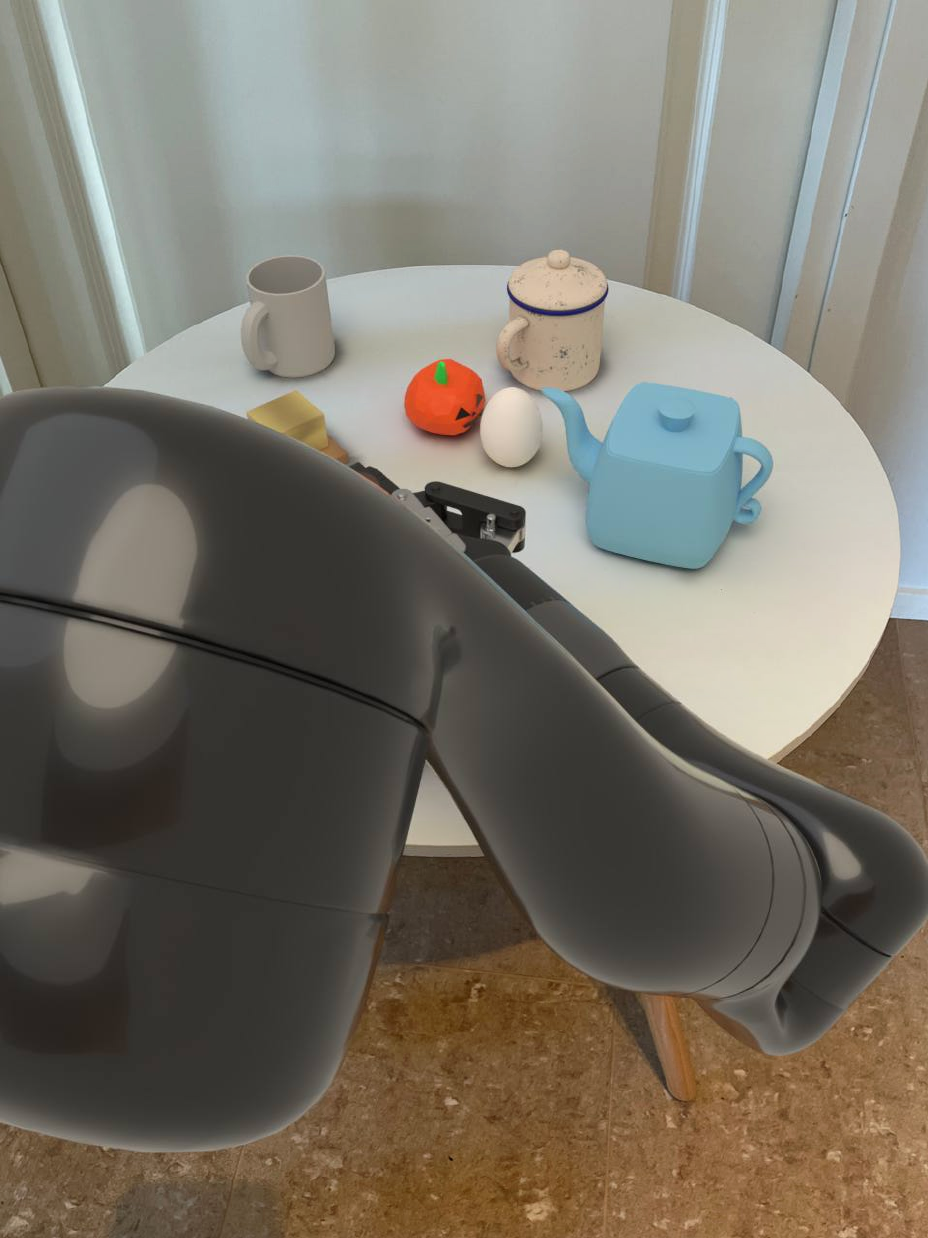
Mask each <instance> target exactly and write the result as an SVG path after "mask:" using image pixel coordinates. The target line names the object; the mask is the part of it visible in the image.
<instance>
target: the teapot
mask: <svg viewBox="0 0 928 1238" xmlns="http://www.w3.org/2000/svg"><path fill="white" fill-rule="evenodd" d="M541 393H542V394H543V395H544V396H545V397H546V398H547V399H549V401H550V402H551V403H553V404H554V405H555V406H556V408H557V409H558V411H559V412H560V414H561V417H562V419H563V422H564V428H565V436H566V446H567V454H568V457H569V461H570V464H571V465H572V467H573V470H574V471H575V472H576V473H577V475H578V476H579V477H580V478H581V479H582V480H583V481H585V482H586V483H587V484H588V485H589V489H588V495H587V501H586V508H585V509H586V510H585V526H586V530H587V533H588V534H587V535H588V537H589V538H590V540H591V542H592V544H593V545H594V546H596V547H598V548H600V549H603V550H604V551H608V552H612V553H616V554H619V555H622V556H627V557H631V558H635V559H640V560H644V561H648V562H653V563H656V564H662V565H667V566H672V567H678V568H685V569H695V570H697V569H701V568H702V567H705V566H706V564H708V563H709V561H710V560H711V559H712V558H713V557H714V556H715V554H716V553H717V551H718V550H719V548H720V547H721V545H722V543H723V542H724V541H725V538H726V536H727V535H728V533H729V532H730V531H729V530H730V529H731V527H732V524H733V522H734V523H737V524H741V525H749V524H752V523H754V522H755V521H756V520H757V519H759V517H760V515H761V512H762V505H761V503H760V500H758V499H757V498H754V496H755V495H756V494H757V493H758V492H759V491H760V490H761V489H762V488H763V487H764V486H765V484H766V483H767V482H768V480H769V479H770V477H771V475H772V472H773V470H774V458H773V456H772V453H771V452H770V450H769V449H768V448H767V447H766V446H765V445H764V444H763V443H762V442H760V441H758V440H756V439H754V438H752V437H747V436H743V427H742V415H741V408H740V405H739V403H738V401H737V400H735V398H732V397H728V396H725V395H722V394H721V395H720V394H716V393H712V392H707V391H704V390H703V391H702V390H697V389H693V388H687V387H681V386H674V385H669V384H662V383H655V382H648V381H647V382H646V381H641V382H639V383H637V384H635V385H634V386H633V387H632V388H631V389H630V390H629V391H628V392H627V394H626V395H625V397H623V400H622V402H620V405H619V406H618V408H617V411H616V412H615V414H614V416H613V418H612V420H611V422H610V424H609V427H608V428H607V431H606V432H605V433H606V434H605V436H604V438H603V441H600V440H599V439H598V438H596V437H595V436H594V435H593V434H592V432H590V430H589V428H588V426H587V422H586V419H585V415H584V412H583V408H582V407H581V405H580V403H579V402H578V401H577V400H576V398H575V397H574V396H572V395H571V394H569V393H567V391H561V390H559V389H555V388H550V387H544V388H542V390H541ZM744 455H747V456H749V457H751V458H753V459H755V460H756V461H757V462H758V463H759V464H760V468H759V470H758V471H757V473H756V474H755V475H754V477H753V478H751V480H750V481H748V483H746V484H745V485H744V486H743V487H742V482H743V466H744ZM743 507H744V508H743ZM746 508H747V509H746Z"/></svg>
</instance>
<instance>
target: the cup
mask: <svg viewBox="0 0 928 1238" xmlns="http://www.w3.org/2000/svg"><path fill="white" fill-rule="evenodd" d="M326 276H327V275H326V270H325V267H324V265H323V264H322V263H321V262H319V261H318V260H316V259H314V258H312V257H308V256H304V255H295V254H290V255H289V254H288V255H279V256H273V257H270V258H266V259H264V260H262V261H259V262H257V263H255V264H254V265H253V266H251V268H249V270H248V271H247V272H246V275H245V282H246V288H247V293H248V299H249V303H250V306H249V307H248V308H247V309H246V310H245V313H244V315H243V316H242V317H243V318H242V320H241V327H240V341H241V345H242V351H243V354H244V355H245V358H246V359H247V361H248V362H249V363H250V364H251V366H252V367H253V369H256V370H259V371H269V373H272V374H273V375H276V376H278V377H282V378H289V379H295V378H297V379H299V378H305V377H311V376H313V375H315V374H319V373H321V372H322V371H324V370H325V369H327V368H328V367H329V366H330V365H331V363H332V362H333V360H334V358H335V356H336V355H335V354H336V353H335V352H336V349H335V347H336V345H335V337H334V331H333V322H332V314H331V308H330V299H329V291H328V284H327V278H326Z"/></svg>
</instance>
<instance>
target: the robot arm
mask: <svg viewBox="0 0 928 1238" xmlns="http://www.w3.org/2000/svg"><path fill="white" fill-rule="evenodd" d="M357 472H364V473H368V474H370V475H372V476H374V477H375V478H376V479H377V480H378V482H379V486H380V487H379V486H378V485H377V484H375V483H374V482H372V481H370V480H369V479H367V478H365V477H364V476H362V475H361V474H359V473H357ZM448 507H449V508H452V509H455V510H458V511H459V512H460V513H461V514H460V513H457V512H454V511H450V510H448ZM526 519H527V512H526V509H525V508H524V507H523V506H521V505H518V504H514V503H511V502H508V501H505V500H501V499H499V498H495V497H491V496H489V495H485V494H482V493H478V492H475V491H472V490H469V489H465V488H461V487H459V486H455V485H451V484H448V483H447V482H443V481H437V480H435V481H430V482H427V483H426V485H424V490H420V491H416V492H412V491H411V490H410V489H408V488H401V487H400V486H398V485H397V484H395V482H394V481H392V480H391V479H390V478H389V477H387V475H385V474H383V472H382V471H381V470H379V469H378V468H376V467H373V466H370V465H368V466H367V467H366V466H365V465H364V464H362V463H361V462H359V461H357V462H354V463H352V464H350V465H347V464H343V463H341V462H339V461H337V460H335V459H334V458H332V457H330V456H328V455H326V454H324V453H322V452H320V451H318V450H316V449H314V448H313V447H311V446H309V445H307V444H305V443H303V442H301V441H299V440H297V439H294V438H292V437H290V436H287V435H285V434H283V433H280V432H278V431H276V430H273V429H271V428H269V427H267V426H264V425H262V424H259V423H257V422H254V421H251V420H248V419H247V417H246V418H245V417H243V416H241V415H238V414H235V413H232V412H229V411H227V410H223V409H221V408H218V407H215V406H213V405H209V404H204V403H200V402H196V401H192V400H187V399H183V398H179V397H174V396H169V395H165V394H161V393H157V392H152V391H149V390H148V391H147V390H143V389H134V388H122V387H112V386H100V385H99V386H98V385H86V384H67V385H54V386H53V385H52V386H43V387H42V386H41V387H33V388H28V389H20V390H16V391H12V392H9V393H6V394H4V395H1V396H0V1124H4V1125H8V1126H12V1127H15V1128H18V1129H22V1130H25V1131H29V1132H32V1133H36V1134H39V1135H43V1136H47V1137H51V1138H55V1139H60V1140H65V1141H70V1142H75V1143H78V1144H79V1143H80V1144H83V1145H84V1144H85V1145H89V1146H96V1147H103V1148H109V1149H117V1150H124V1151H131V1152H139V1153H151V1154H152V1153H163V1154H164V1153H198V1152H203V1153H204V1152H213V1151H219V1150H226V1149H231V1148H236V1147H241V1146H246V1145H249V1144H251V1143H253V1142H256V1141H260V1140H261V1139H264V1138H267V1137H270V1136H273V1135H276V1134H278V1133H280V1132H281V1131H282V1130H284V1129H286V1128H287V1127H289V1126H290V1125H292V1124H294V1123H295V1122H296V1121H298V1120H299V1119H300V1118H302V1117H303V1116H304V1115H306V1114H307V1113H309V1112H310V1111H311V1110H312V1109H314V1108H315V1107H316V1106H317V1105H318V1104H319V1103H320V1102H321V1101H322V1100H323V1099H324V1098H325V1096H326V1095H327V1093H328V1092H329V1090H330V1089H331V1087H332V1086H333V1084H334V1082H335V1081H336V1080H337V1078H338V1076H339V1074H340V1073H341V1070H342V1068H343V1065H344V1063H345V1061H346V1058H347V1057H348V1054H349V1052H350V1050H351V1047H352V1044H353V1042H354V1039H355V1036H356V1033H357V1031H358V1028H359V1026H360V1022H361V1020H362V1017H363V1014H364V1011H365V1008H366V1006H367V1003H368V999H369V996H370V991H371V988H372V985H373V982H374V977H375V974H376V971H377V967H378V965H379V960H380V957H381V952H382V949H383V945H384V942H385V939H386V935H387V930H388V925H389V921H390V915H389V912H390V911H391V907H392V903H393V902H392V901H393V898H394V894H395V889H396V885H397V881H398V877H399V872H400V869H401V865H402V861H403V856H404V852H405V848H406V845H407V839H408V835H409V831H410V828H411V822H412V818H413V814H414V810H415V806H416V803H417V799H418V798H417V796H418V794H419V789H420V787H421V786H420V785H421V781H422V777H423V772H424V769H425V764H427V766H428V767H429V768H430V770H431V771H432V772H433V773H434V775H435V776H436V778H437V779H438V781H439V783H441V784H442V786H443V787H444V789H445V790H446V791H447V793H448V794H449V796H450V797H451V800H452V801H453V802H454V804H455V806H456V808H457V809H458V811H459V813H460V814H461V816H462V818H463V820H464V822H466V825H467V826H468V828H469V829H470V831H471V833H472V835H473V837H474V839H475V841H476V843H477V845H478V846H479V848H480V851H481V853H482V854H483V856H484V858H485V859H486V861H487V863H488V865H489V867H490V868H491V870H492V872H493V873H494V875H495V877H496V879H497V881H498V882H499V884H500V886H501V887H502V889H503V891H504V892H505V894H506V896H507V897H508V899H509V900H510V902H511V903H512V905H513V907H514V908H515V910H516V911H517V912H518V914H519V915H520V917H521V918H522V920H523V921H524V922H525V924H526V925H527V926H528V928H529V929H531V930H532V932H533V933H534V934H535V935H536V936H537V937H538V938H539V940H541V941H542V943H543V944H544V945H545V946H546V947H547V948H548V949H549V950H550V951H551V952H552V953H554V954H555V955H556V956H557V957H558V958H559V959H561V960H562V961H564V962H565V963H566V964H567V965H569V966H571V967H572V968H573V969H575V970H576V971H578V973H580V974H583V975H585V976H587V977H588V978H590V979H593V980H595V981H597V982H599V983H601V984H605V985H606V986H609V987H612V988H614V989H617V990H622V991H627V992H630V993H631V992H632V993H638V994H643V995H650V996H657V997H658V996H660V997H670V998H678V999H679V998H680V999H688V1000H689V999H690V1000H693V1001H694V1002H695V1003H696V1004H697V1005H698V1007H700V1008H701V1010H702V1011H703V1012H704V1013H705V1014H706V1015H707V1017H709V1018H710V1019H711V1020H712V1021H713V1022H714V1023H715V1024H716V1025H717V1026H719V1027H720V1028H721V1029H722V1030H723V1031H724V1032H725V1033H727V1034H728V1035H730V1036H731V1037H732V1038H733V1039H735V1040H737V1041H738V1042H740V1043H741V1044H743V1046H745V1047H748V1048H749V1049H751V1050H754V1051H755V1052H757V1053H760V1054H764V1055H768V1056H772V1057H786V1056H790V1055H793V1054H796V1053H799V1052H802V1051H803V1050H805V1049H807V1048H810V1047H811V1046H812V1045H814V1044H815V1043H817V1042H818V1041H820V1040H821V1039H822V1038H823V1037H824V1036H826V1035H827V1033H829V1032H830V1031H831V1030H832V1029H833V1028H834V1026H836V1025H837V1023H838V1022H839V1021H840V1020H841V1019H842V1018H843V1016H844V1015H845V1014H846V1013H847V1012H848V1011H849V1009H850V1008H851V1007H852V1006H853V1005H854V1004H855V1003H856V1002H857V1000H858V999H859V998H860V997H861V996H862V995H863V994H864V992H866V990H867V989H868V988H869V987H871V985H872V983H874V981H875V980H876V979H877V978H878V977H879V975H881V973H882V972H883V971H884V970H885V969H886V968H887V966H888V965H889V964H890V963H891V962H892V961H893V958H894V957H896V956H898V954H899V953H900V952H901V951H902V950H903V949H904V948H905V947H906V945H908V944H909V942H910V941H911V940H912V939H913V938H914V937H915V936H916V935H917V933H919V931H920V930H921V929H922V928H923V926H924V925H925V923H926V922H927V921H928V858H927V855H926V854H925V852H924V850H923V848H922V847H921V846H920V845H919V843H918V841H916V839H915V838H914V837H913V835H911V834H910V832H909V831H907V830H906V829H905V827H903V826H902V824H900V823H899V822H898V821H896V820H895V819H894V818H892V817H891V816H889V815H888V814H886V813H885V812H883V811H882V810H879V809H878V808H876V807H874V806H872V805H871V804H869V803H867V802H865V801H863V800H860V799H858V798H856V797H854V796H851V795H850V794H847V793H845V792H843V791H840V790H838V789H835V788H833V787H831V786H830V785H826V784H824V783H822V782H819V781H817V780H815V779H812V778H810V777H807V776H805V775H802V774H800V773H798V772H795V771H793V770H791V769H788V768H787V767H783V766H782V765H780V764H778V763H776V762H774V761H772V760H770V759H768V758H766V757H763V756H762V755H760V754H757V753H755V752H754V751H752V750H750V749H748V748H746V747H744V746H743V745H741V744H739V743H738V742H736V741H734V740H732V739H731V738H729V737H728V736H727V735H725V734H724V733H722V732H721V731H719V730H717V729H716V728H714V727H713V726H711V725H710V724H708V723H707V722H706V721H705V720H704V719H702V718H701V717H700V716H698V715H697V714H696V713H694V712H693V711H692V710H690V708H689V707H687V706H685V705H684V704H683V703H682V702H681V701H680V700H679V699H678V698H676V697H675V696H673V694H671V693H670V692H668V690H666V688H664V687H663V686H662V685H660V683H658V682H657V681H656V680H654V679H653V678H652V677H651V676H650V675H648V674H647V673H646V672H645V671H644V670H643V669H642V668H641V667H640V666H638V664H636V663H635V662H634V661H633V659H631V657H630V656H628V654H627V653H626V652H625V651H624V650H623V649H622V647H621V646H620V645H619V644H618V643H617V642H616V641H615V640H614V638H612V637H611V636H610V635H609V634H608V633H607V632H606V631H604V629H602V628H601V627H600V625H598V624H596V623H595V622H593V620H591V619H590V618H589V617H588V616H586V615H585V614H584V613H583V612H581V610H579V609H578V608H577V607H575V606H574V604H572V603H571V602H570V601H569V600H568V599H566V598H565V597H564V596H563V595H561V593H560V592H558V591H557V590H556V589H554V588H553V586H550V584H548V582H546V581H545V580H544V579H542V578H541V576H539V575H537V574H536V573H535V572H534V571H533V570H531V569H530V568H529V567H528V566H526V564H524V563H523V562H522V561H521V560H519V559H518V558H515V557H513V556H512V554H515V553H516V554H517V553H521V552H522V551H523V550H524V549H525V546H526Z"/></svg>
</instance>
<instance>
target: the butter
mask: <svg viewBox="0 0 928 1238" xmlns="http://www.w3.org/2000/svg"><path fill="white" fill-rule="evenodd" d="M245 414H246V419H248V420H251V421H254V422H257V423H259V424H262V425H264V426H267V427H269V428H271V429H273V430H276V431H278V432H280V433H283V434H285V435H287V436H290V437H292V438H294V439H297V440H299V441H301V442H303V443H305V444H307V445H309V446H311V447H313V448H314V449H316V450H318V451H320V452H322V453H324V454H326V455H328V456H330V457H332V458H334V459H335V460H337V461H339V462H341V463H343V464H345V465H347V464H349V463H350V459H349V453H348V451H346V449H344V448H343V447H342V446H341V445H339V444H338V442H336V441H335V440H334V439H332V438H331V436H329V435H328V433H327V425H326V419H325V413H324V412H323V411H322V410H320V409H319V408H318V407H317V406H316V405H315V404H313V403H312V402H311V401H310V400H308V399H307V398H306V397H305V396H304V395H303V394H301V393H300V392H299V391H298V390H296V389H295V390H293V391H290V392H288V393H286V394H284V395H282V396H279V397H277V398H275V399H272V400H270V401H268V402H266V403H264V404H263V403H262V404H261V405H259V406H257V407H254V408H252V409H249V410H248V411H245Z"/></svg>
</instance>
